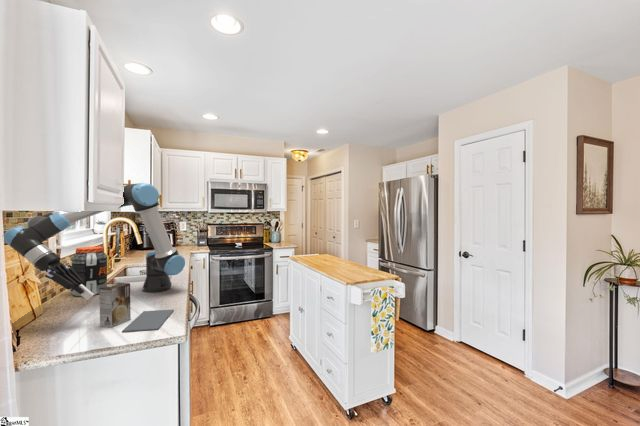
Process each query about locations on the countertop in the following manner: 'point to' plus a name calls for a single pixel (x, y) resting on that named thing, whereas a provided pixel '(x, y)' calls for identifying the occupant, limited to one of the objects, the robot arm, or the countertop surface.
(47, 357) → the countertop surface
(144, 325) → the mat
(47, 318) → the countertop surface
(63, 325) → the countertop surface
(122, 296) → the coffee box
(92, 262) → the supplement tub
